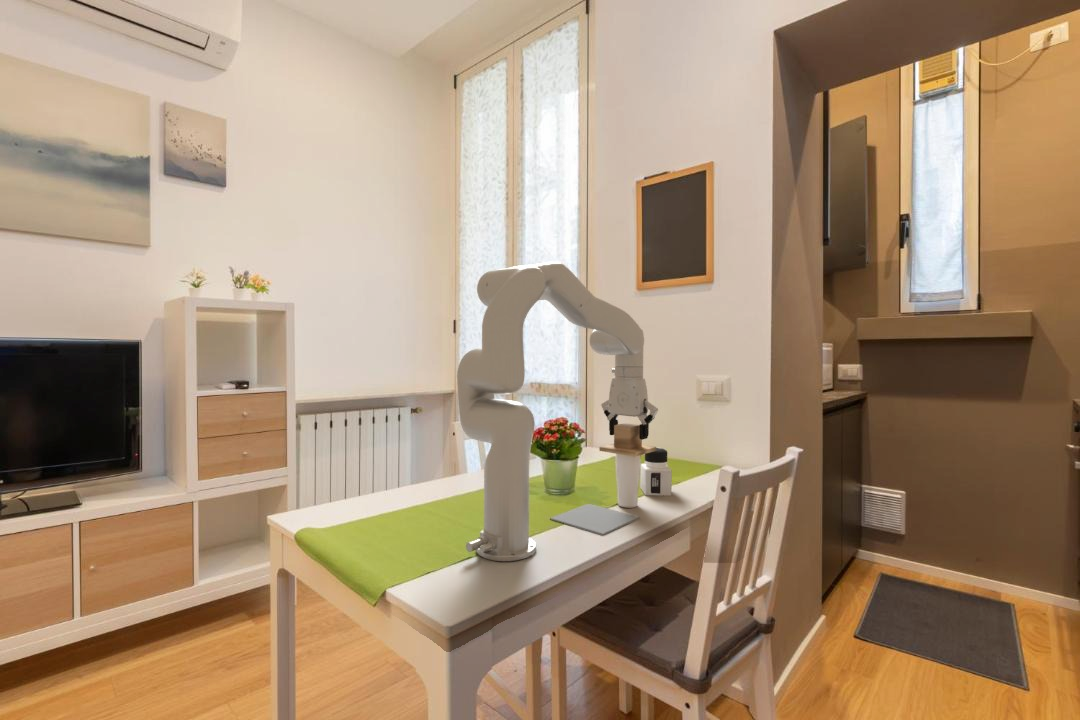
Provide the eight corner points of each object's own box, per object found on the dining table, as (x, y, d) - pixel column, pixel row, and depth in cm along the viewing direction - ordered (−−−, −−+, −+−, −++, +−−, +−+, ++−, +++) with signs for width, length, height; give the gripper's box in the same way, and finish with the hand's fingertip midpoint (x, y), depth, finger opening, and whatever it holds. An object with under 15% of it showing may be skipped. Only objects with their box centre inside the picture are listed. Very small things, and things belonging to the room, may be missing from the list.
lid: (634, 456, 133) (635, 429, 132) (599, 450, 140) (599, 425, 140) (656, 450, 141) (656, 424, 141) (621, 445, 148) (622, 420, 148)
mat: (602, 535, 118) (602, 533, 118) (549, 519, 129) (549, 517, 129) (639, 518, 130) (639, 516, 130) (588, 505, 141) (588, 503, 141)
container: (671, 496, 150) (672, 451, 150) (645, 495, 150) (645, 451, 150) (665, 488, 158) (666, 446, 157) (640, 488, 158) (640, 446, 158)
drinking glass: (639, 502, 144) (639, 448, 143) (641, 509, 137) (642, 453, 137) (614, 501, 144) (614, 447, 144) (615, 508, 138) (616, 452, 137)
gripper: (594, 372, 143) (594, 434, 143) (650, 375, 131) (649, 442, 132) (610, 371, 148) (609, 431, 149) (664, 374, 137) (664, 438, 137)
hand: (628, 436), depth 140 cm, fingers open, 9 cm apart
